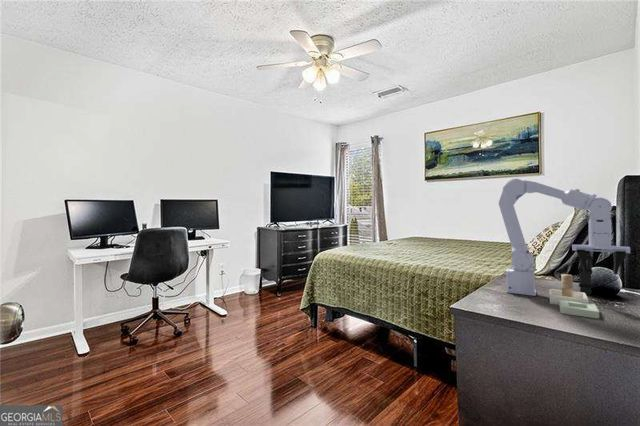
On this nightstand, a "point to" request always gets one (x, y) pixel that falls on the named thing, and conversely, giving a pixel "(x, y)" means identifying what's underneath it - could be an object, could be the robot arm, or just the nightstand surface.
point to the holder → (578, 309)
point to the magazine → (586, 275)
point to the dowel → (567, 285)
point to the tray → (557, 295)
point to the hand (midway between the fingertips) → (600, 272)
